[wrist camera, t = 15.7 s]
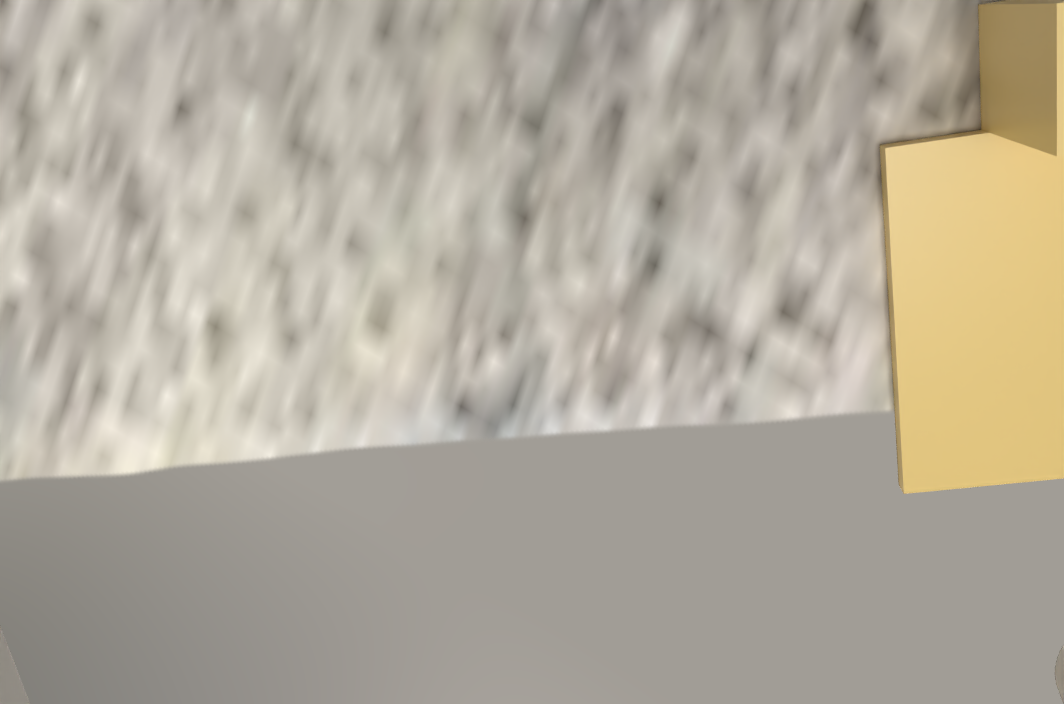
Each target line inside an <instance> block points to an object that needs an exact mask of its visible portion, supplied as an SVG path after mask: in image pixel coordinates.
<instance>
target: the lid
mask: <svg viewBox="0 0 1064 704" xmlns="http://www.w3.org/2000/svg"><path fill="white" fill-rule="evenodd" d="M978 17H979V58H980V99H981V130H978V131H971V132H964V133H957V134H951V135H944V136H937V137H930V138H924V139H917V140H910V141H903V142H897V143H890V144H883V145H880V159H881V177H882V194H883V212H884V230H885V247H886V265H887V283H888V300H889V318H890V336H891V353H892V371H893V389H894V406H895V428H896V444H897V445H896V446H897V464H898V482H899V486H900V488H901V489H902V491H903V493H904V494H906V493H917V492H927V491H937V490H948V489H958V488H968V487H979V486H989V485H998V484H999V485H1000V484H1010V483H1020V482H1030V481H1041V480H1051V479H1061V478H1064V0H1004V1H998V2H992V3H986V4H980V5H978Z"/></svg>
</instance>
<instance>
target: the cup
mask: <svg viewBox="0 0 1064 704" xmlns="http://www.w3.org/2000/svg"><path fill="white" fill-rule="evenodd" d="M1055 680H1056V684H1057V687H1058V690H1059V693H1060V696H1061V698H1062V701H1063V704H1064V645H1063V647H1062V648H1061V650H1060V652H1059V655H1058V657H1057V661H1056V666H1055Z"/></svg>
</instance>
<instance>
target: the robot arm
mask: <svg viewBox="0 0 1064 704" xmlns="http://www.w3.org/2000/svg"><path fill="white" fill-rule="evenodd" d="M0 704H30V702H29V700H28V697H27V695H26V692H25V690H24V687H23V684H22V682H21V679H20V676H19V674H18V671H17V669H16V666H15V663H14V661H13V658H12V656H11V653H10V650H9V648H8V645H7V643H6V640H5V637H4V635H3V632H2V630H1V627H0Z"/></svg>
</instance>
